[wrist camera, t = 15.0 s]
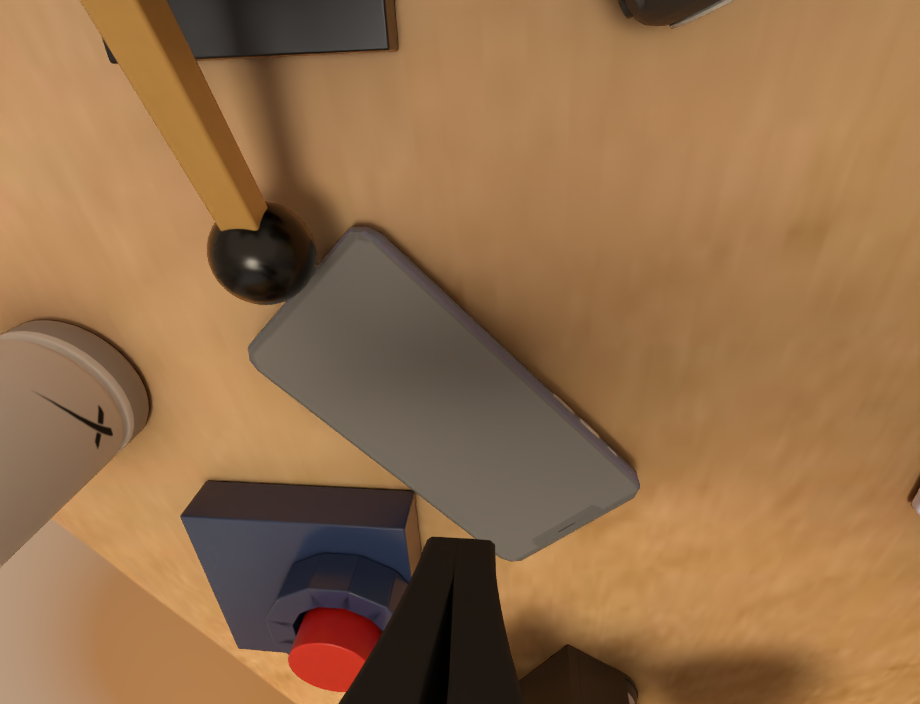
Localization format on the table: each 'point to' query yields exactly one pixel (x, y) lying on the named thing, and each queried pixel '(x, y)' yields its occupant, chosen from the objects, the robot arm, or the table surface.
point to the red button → (332, 647)
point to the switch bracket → (283, 27)
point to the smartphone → (438, 400)
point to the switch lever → (207, 154)
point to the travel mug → (58, 420)
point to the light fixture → (577, 681)
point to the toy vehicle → (669, 10)
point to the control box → (301, 554)
